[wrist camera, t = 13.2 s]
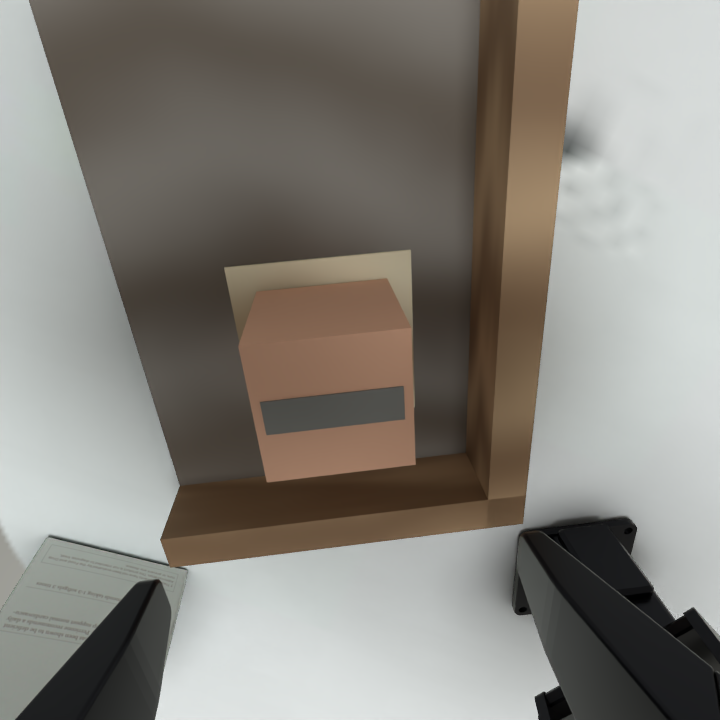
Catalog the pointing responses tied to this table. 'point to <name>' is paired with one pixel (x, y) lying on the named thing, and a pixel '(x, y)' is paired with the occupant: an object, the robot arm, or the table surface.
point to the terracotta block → (330, 379)
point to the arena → (325, 232)
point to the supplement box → (65, 612)
